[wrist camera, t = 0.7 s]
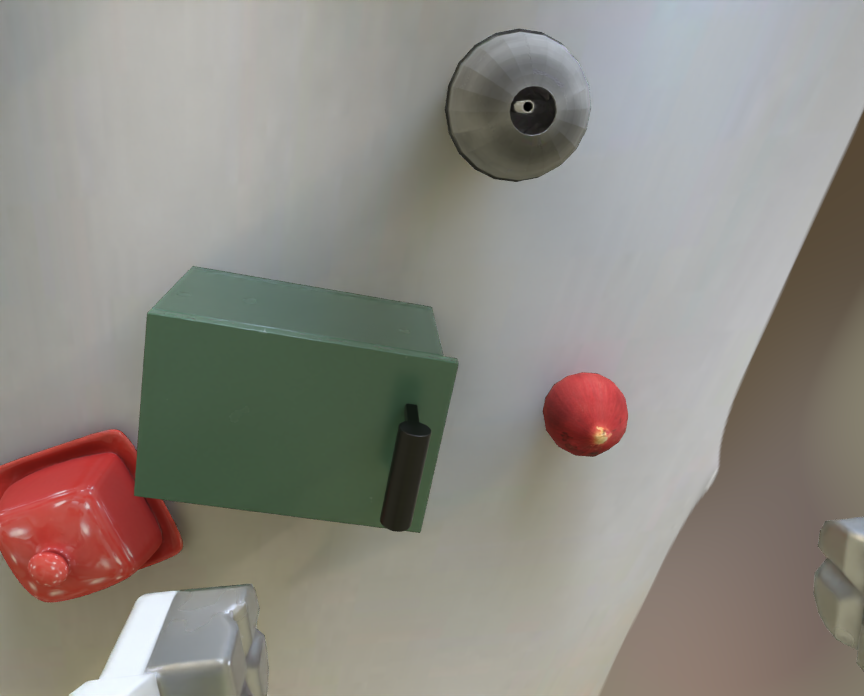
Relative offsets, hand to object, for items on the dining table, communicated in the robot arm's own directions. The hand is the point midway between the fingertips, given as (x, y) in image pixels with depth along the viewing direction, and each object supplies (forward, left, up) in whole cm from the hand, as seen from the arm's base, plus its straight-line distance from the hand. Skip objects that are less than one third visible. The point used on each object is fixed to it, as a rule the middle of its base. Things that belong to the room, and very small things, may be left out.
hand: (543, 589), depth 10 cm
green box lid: (+14, -5, -31) cm, 34 cm away
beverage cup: (-6, +4, -41) cm, 42 cm away
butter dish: (+28, -19, -41) cm, 53 cm away
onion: (+13, +15, -41) cm, 46 cm away
